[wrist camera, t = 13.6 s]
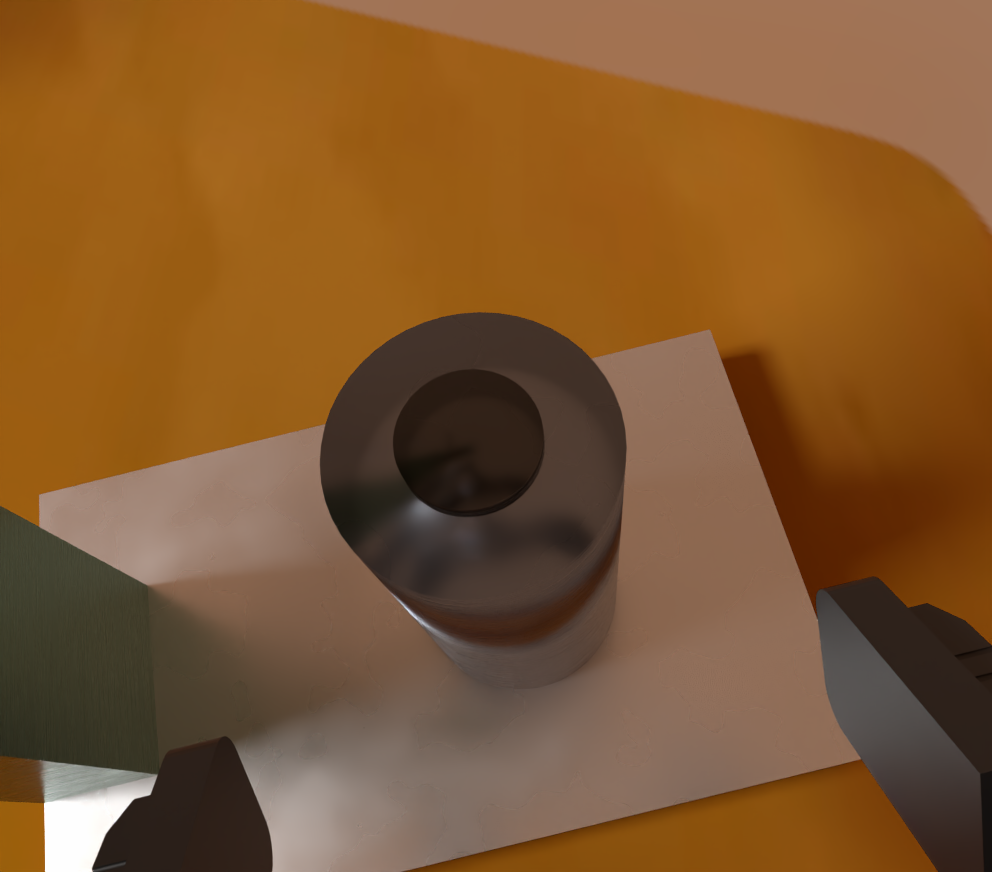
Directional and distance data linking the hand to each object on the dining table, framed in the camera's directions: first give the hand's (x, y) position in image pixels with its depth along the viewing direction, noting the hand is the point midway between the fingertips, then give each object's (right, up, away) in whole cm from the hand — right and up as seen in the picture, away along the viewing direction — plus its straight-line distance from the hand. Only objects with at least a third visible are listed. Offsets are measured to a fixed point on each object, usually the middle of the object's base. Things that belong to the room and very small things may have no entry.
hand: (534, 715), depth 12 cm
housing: (0, 0, +12) cm, 12 cm away
